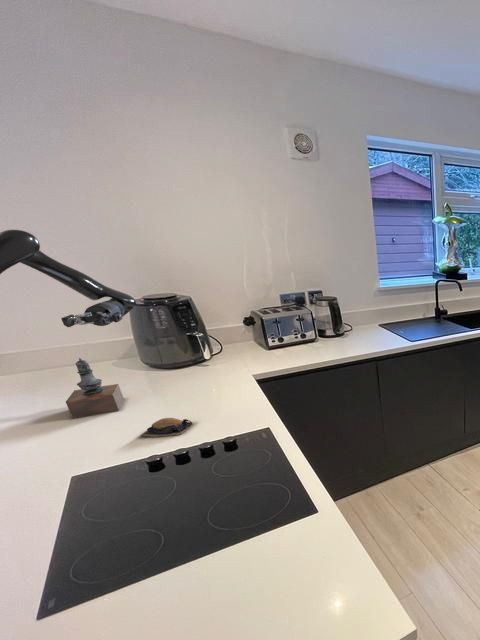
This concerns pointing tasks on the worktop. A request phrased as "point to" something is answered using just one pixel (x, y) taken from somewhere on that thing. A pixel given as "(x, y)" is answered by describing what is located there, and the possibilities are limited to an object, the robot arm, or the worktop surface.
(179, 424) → the turtle figurine
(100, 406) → the brown rectangular block
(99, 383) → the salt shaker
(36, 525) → the worktop surface
